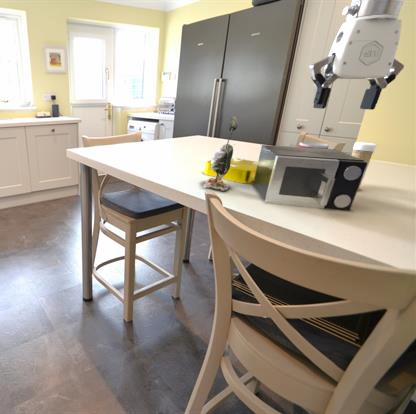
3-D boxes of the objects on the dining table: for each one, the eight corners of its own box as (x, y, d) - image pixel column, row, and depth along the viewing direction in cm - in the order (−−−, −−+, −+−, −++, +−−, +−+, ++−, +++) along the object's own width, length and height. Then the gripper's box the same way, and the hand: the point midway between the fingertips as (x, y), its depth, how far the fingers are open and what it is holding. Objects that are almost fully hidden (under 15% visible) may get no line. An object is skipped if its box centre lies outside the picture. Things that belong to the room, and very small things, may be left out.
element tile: (201, 174, 95) (203, 160, 94) (223, 167, 105) (225, 154, 103) (246, 184, 85) (249, 169, 83) (265, 176, 94) (269, 162, 93)
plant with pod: (235, 184, 85) (249, 115, 77) (223, 194, 77) (238, 117, 69) (208, 179, 90) (219, 113, 82) (194, 188, 81) (205, 115, 74)
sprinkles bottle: (335, 187, 85) (351, 141, 80) (347, 186, 86) (363, 141, 81) (351, 192, 81) (368, 144, 75) (363, 191, 82) (381, 144, 77)
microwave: (351, 213, 66) (370, 162, 62) (266, 204, 70) (278, 156, 66) (321, 191, 81) (335, 149, 76) (252, 185, 85) (261, 144, 80)
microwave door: (335, 219, 62) (354, 167, 58) (272, 212, 65) (285, 162, 61) (320, 206, 69) (336, 159, 65) (264, 200, 72) (275, 155, 68)
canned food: (288, 176, 95) (297, 143, 91) (294, 172, 100) (303, 140, 96) (315, 181, 90) (326, 146, 86) (320, 176, 95) (331, 143, 91)
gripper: (338, 8, 51) (311, 108, 57) (441, 8, 50) (401, 110, 56) (313, 18, 58) (291, 107, 64) (403, 18, 57) (371, 108, 63)
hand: (342, 108), depth 60 cm, fingers open, 9 cm apart
